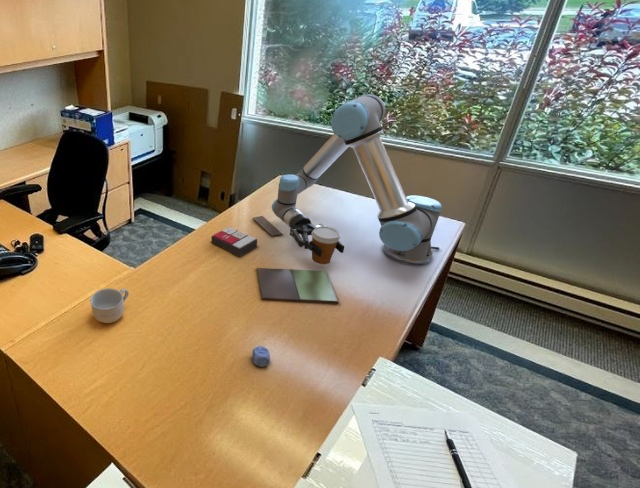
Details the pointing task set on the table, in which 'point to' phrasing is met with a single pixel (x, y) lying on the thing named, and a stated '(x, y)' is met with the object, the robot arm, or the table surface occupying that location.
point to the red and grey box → (234, 241)
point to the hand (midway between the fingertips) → (331, 251)
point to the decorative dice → (261, 356)
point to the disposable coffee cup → (324, 243)
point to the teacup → (108, 304)
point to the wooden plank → (267, 226)
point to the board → (296, 285)
